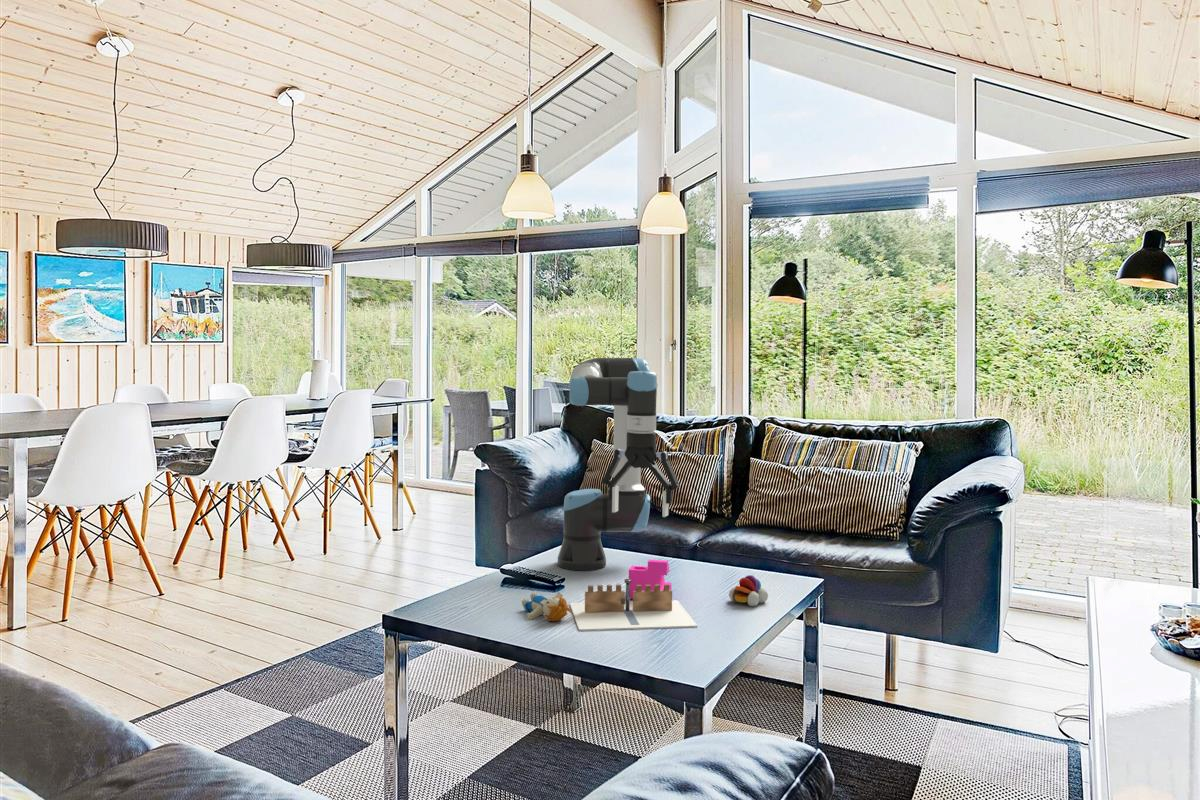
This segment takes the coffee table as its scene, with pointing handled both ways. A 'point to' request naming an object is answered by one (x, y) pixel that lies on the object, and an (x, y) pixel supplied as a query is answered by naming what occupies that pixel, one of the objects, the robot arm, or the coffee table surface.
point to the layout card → (631, 618)
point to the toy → (546, 607)
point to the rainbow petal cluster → (748, 591)
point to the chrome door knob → (627, 593)
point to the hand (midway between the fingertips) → (639, 513)
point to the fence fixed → (652, 598)
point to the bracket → (649, 575)
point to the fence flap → (604, 599)
